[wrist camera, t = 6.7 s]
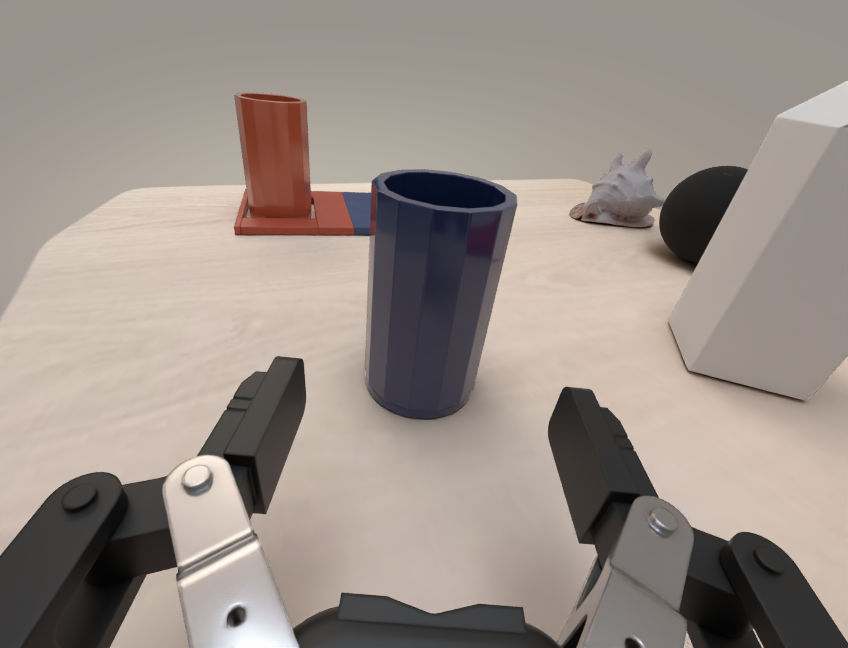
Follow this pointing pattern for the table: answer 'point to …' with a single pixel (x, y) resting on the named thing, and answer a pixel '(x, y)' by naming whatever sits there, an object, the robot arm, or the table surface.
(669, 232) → the speaker
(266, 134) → the red cup
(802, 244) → the milk carton
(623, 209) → the seashell
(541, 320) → the table surface
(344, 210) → the sorting board
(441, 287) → the blue cup
